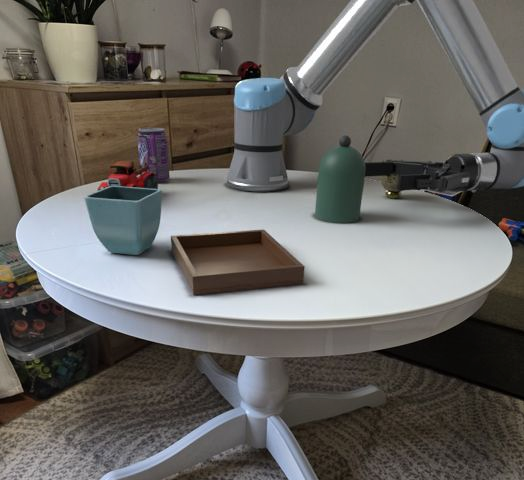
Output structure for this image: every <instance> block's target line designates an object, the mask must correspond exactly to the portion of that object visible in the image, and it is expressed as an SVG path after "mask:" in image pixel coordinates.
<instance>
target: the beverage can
mask: <svg viewBox="0 0 524 480" xmlns="http://www.w3.org/2000/svg"><path fill="white" fill-rule="evenodd" d="M168 147H169V146H168V137H167V134H166V132H165V128H162V127H141V128H138V133H137V148H138V149H137V150H138V159H139V165H142V168H143V167H145V164H144V162H147V165H149V169H148V170H147V171H148V172H153V173H154V174H155V176H156V177H157V181H158V184H159V183H164V182H166V181H167V180H169V179H170V176H171V175H170V163H169V161H170V159H169V148H168ZM143 173H145V171H144V172H143ZM143 173H142V174H143Z"/></svg>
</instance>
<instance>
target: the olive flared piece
mask: <svg viewBox="0 0 524 480" xmlns="http://www.w3.org/2000/svg"><path fill="white" fill-rule="evenodd" d="M387 160H388V159H386V160H385V161H384V159H382V162H387ZM400 160H401V161H404V160H403V159H400ZM398 178H399V175H395V174H390V177H387V176H380V182H381V186H382V188H383V189H384V190H385V193H384V195H385V197H386V198H388V199H395V200H396V199H399V198H401V196H402V192H403V191H404V190H402V191H398V190H397V184H398Z"/></svg>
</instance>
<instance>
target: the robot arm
mask: <svg viewBox="0 0 524 480" xmlns="http://www.w3.org/2000/svg"><path fill="white" fill-rule="evenodd" d="M415 1H416V2H417V4H418V6H419V8H420V9H421V11H422V13H423V14H424V16H425V18H426V21H427V22H428V24H429V26H430V28H431V29H432V31H433V33H434V35H435V37H436V38H437V40H438V42H439V44H440V45H441V47H442V49H443V51H444V53H445V55H446V56H447V59H448V60H449V62H450V64H451V66H452V67H453V69H454V71H455V73H456V75H457V76H458V79H459V80H460V82H461V84H462V85H463V87H464V89H465V91H466V93H467V94H468V97H469V99H470V100H471V102H472V104H473V105H474V108H475V109H476V111H477V113H478V115H479V116H480V120H481V121H482V123H483V125H484V126H485V128H486V135H487V138H488V140H489V142H490V143H491V146H490V147H491V148H490V151H489V152H470V153H454V154H451V155H450V156H448V158H447V159H445V160H446V161H444V162H443V161H435V162H433V161H432V160H428V161H416V160H403V161H401V160H402V159H398V160H397V159H390V158H389V159H386V160H387V162H386V161H384V162H383V161H373V162H372V161H371V162H370V161H369V162H368V161H367V162H366V161H365V168H366V170H365V177H381V176H387V177H390V174H395V175H399V178H398V184H397V190H398V191H401V192H403V191H416V190H417V191H419V190H421V191H422V190H428V189H429V190H431V191H435V190H437V192H439V193H443V192H447V191H449V192H467V191H471V193H473V194H474V193H475V194H476V192H477V190H478V191H483V190H510V189H517V188H521V187H524V89H521V88H520V87H519V85H518V83H517V81H516V79H515V77H514V76H513V73H512V72H511V70H510V68H509V65H508V64H507V62H506V60H505V58H504V56H503V54H502V53H501V51H500V49H499V47H498V45H497V43H496V41H495V39H494V38H493V35H492V34H491V32H490V30H489V27H488V26H487V24H486V22H485V19H484V18H483V16H482V15H481V13H480V10H479V9H478V7H477V5H476V3H475V2H474V0H350V1H349V2H348V3H347V5H345V7H344V9H343V10H341V12H340V13H339V15H338V16H337V17H336V18H335V20H334V21H333V22H332V23H331V24H330V26H329V27H328V28H327V30H326V31H325V32H324V33H323V35H321V37H320V38H319V40H318V41H317V42H316V43H315V45H314V46H313V47H312V48H311V50H310V51H309V52H308V53H307V55H306V56H305V57H304V59H302V61H301V62H300V63H299V64H298V66H290V67H288V68H287V69H286V71H284V73H283V74H282V75H281V77H280V78H276V77H258V78H257V77H256V78H249V79H243V80H241V81H239V82H238V83H237V84H236V85H235V87H234V98H233V105H234V106H233V107H234V108H233V109H234V112H233V114H234V116H233V117H234V118H233V119H234V120H233V121H234V122H233V123H234V126H233V127H234V128H233V129H234V130H233V131H234V149H233V150H234V152H233V156H232V159H231V163H230V166H229V169H228V172H227V175H226V176H227V177H226V185H227V186H228V187H229V188H232V189H235V190H240V191H245V192H259V193H260V192H261V193H263V192H264V193H265V192H278V191H283V190H285V189H286V188H288V186H289V175H288V172H287V168H286V164H285V160H284V155H283V144H284V143H283V142H284V136H292V135H297V134H299V133H301V132H303V131H304V130H305V129H307V128H308V127H309V126H310V125H311V123H312V122H313V121H314V119H315V116H316V113H317V110H318V109H319V108H320V107H321V106H322V104H323V102H324V97H323V96H324V93H325V92H326V91H327V90H328V89H329V87H330V86H331V85H332V84H333V83H334V82H335V80H336V79H337V78H338V77H339V76H340V75H341V74H342V73H343V71H345V70H346V68H347V67H348V66H349V65H350V64H351V63H352V61H353V60H354V59H355V58H356V57H357V56H358V55H359V53H360V52H361V51H362V50H363V49H364V48H365V46H366V45H367V44H368V43H369V42H370V41H371V40H372V38H374V37H375V35H376V34H377V33H378V32H379V31H380V30H381V28H382V27H383V26H384V25H385V24H386V23H387V22H388V21H389V19H390V18H391V17H392V16H393V15H394V14H395V12H396V11H397V10H398V9H399V8H400V7H402V6H412V4H413V3H414V2H415ZM402 190H403V191H402Z"/></svg>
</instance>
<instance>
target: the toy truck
mask: <svg viewBox="0 0 524 480" xmlns="http://www.w3.org/2000/svg"><path fill="white" fill-rule="evenodd" d="M144 164H145V167H143V168H142V165H140V164H139V165H138V167H139V169H138V170H137V168H135V162H134V161H128V160H118V161H116V162H115V163H114V164H111V165H110V166H109V170H110V175H109V176H108V178H107V181H102V182H101V183H100V184H99V186H98V187H97V191H99V190H102V189H104V188H107V187H110V186H123V187H136V188H149V189H159V183H158V181H157V177H156V176H155V174H154V173H153V172H148V171H147V170H148V169H149V165H147V162H144ZM112 169H115V170H116V172H114V173H112ZM144 171H145V173H143V172H144ZM142 173H143V174H142ZM97 191H96V192H97Z"/></svg>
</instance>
